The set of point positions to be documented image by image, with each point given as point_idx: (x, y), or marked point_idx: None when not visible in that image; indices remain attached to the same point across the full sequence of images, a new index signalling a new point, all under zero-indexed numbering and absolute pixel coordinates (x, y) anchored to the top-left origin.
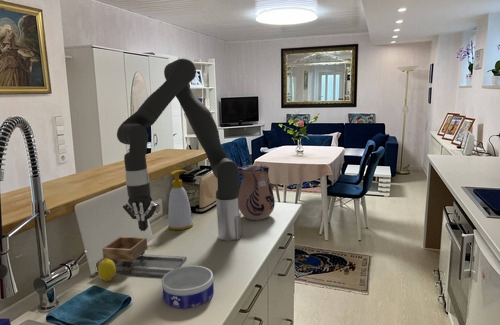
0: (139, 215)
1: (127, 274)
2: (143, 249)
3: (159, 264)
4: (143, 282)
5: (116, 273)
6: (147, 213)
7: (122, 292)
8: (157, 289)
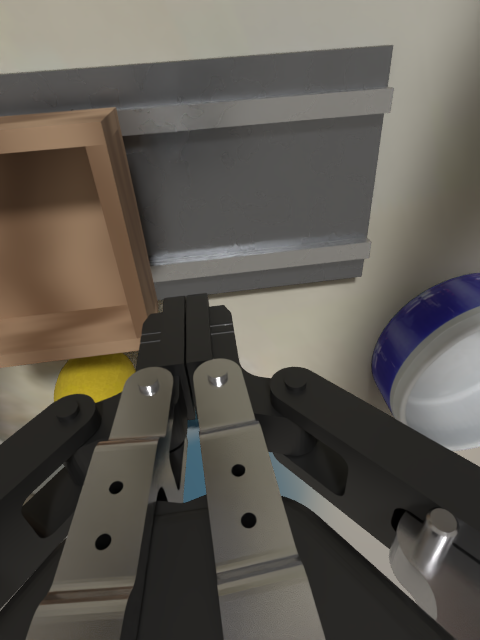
0: (183, 482)
1: None
2: (128, 178)
3: (261, 193)
4: (257, 325)
5: None
6: (253, 413)
7: None
8: (334, 348)
